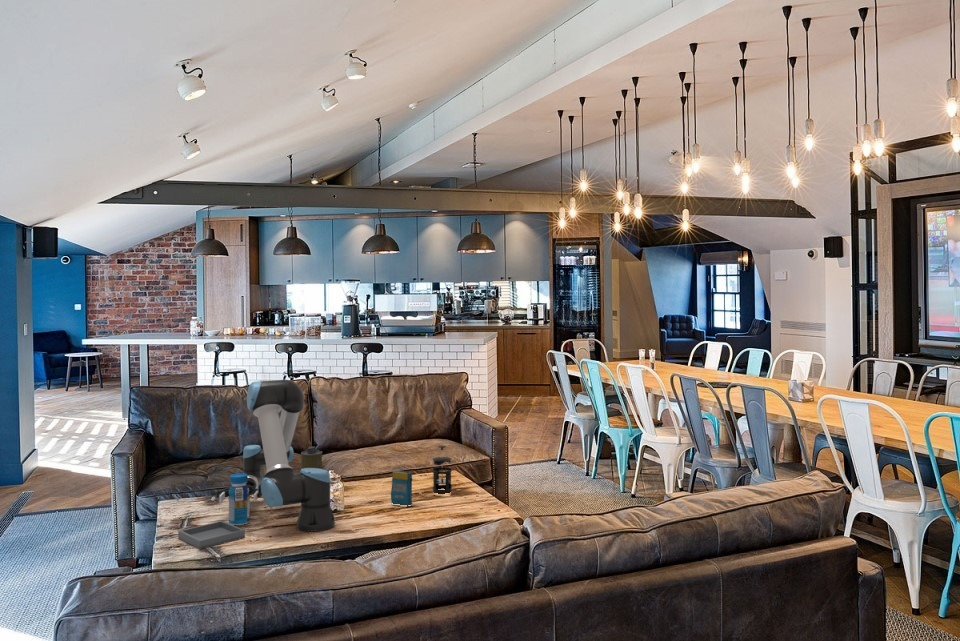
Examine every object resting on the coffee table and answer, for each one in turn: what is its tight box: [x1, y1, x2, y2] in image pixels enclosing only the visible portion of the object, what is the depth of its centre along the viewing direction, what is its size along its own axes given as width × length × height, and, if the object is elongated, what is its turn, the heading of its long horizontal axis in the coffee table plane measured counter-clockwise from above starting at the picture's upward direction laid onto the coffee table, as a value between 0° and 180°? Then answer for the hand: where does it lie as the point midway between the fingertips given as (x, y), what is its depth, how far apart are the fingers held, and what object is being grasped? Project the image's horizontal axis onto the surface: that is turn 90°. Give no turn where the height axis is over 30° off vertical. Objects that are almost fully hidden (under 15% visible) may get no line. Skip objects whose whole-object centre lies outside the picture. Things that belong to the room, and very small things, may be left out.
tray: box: [177, 520, 246, 550], centre depth 279 cm, size 18×18×3 cm
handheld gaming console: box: [390, 470, 413, 506], centre depth 323 cm, size 10×4×15 cm, turn 65°
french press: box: [432, 445, 453, 494], centre depth 343 cm, size 12×9×23 cm
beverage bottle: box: [227, 472, 251, 526], centre depth 298 cm, size 8×8×20 cm
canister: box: [300, 446, 323, 470], centre depth 357 cm, size 11×10×20 cm
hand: (237, 498), depth 295 cm, fingers open, 13 cm apart
